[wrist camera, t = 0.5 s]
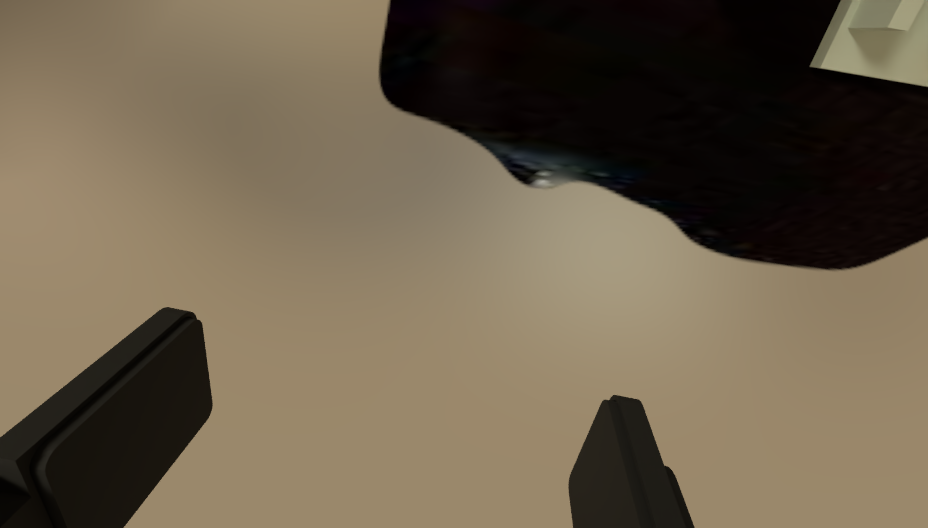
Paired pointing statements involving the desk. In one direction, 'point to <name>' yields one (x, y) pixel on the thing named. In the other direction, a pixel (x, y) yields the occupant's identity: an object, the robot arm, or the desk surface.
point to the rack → (878, 40)
